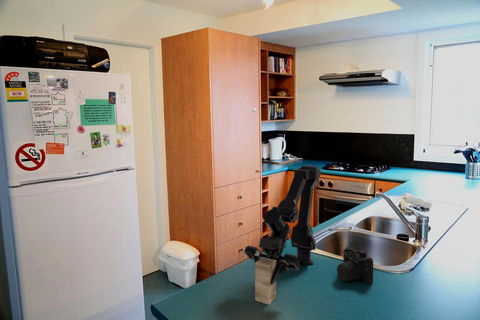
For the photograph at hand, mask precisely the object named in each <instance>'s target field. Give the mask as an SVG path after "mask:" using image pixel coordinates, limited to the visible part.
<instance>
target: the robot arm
mask: <svg viewBox="0 0 480 320" xmlns="http://www.w3.org/2000/svg"><path fill="white" fill-rule="evenodd" d="M321 173H322V171H321V169H320V168H319V167H318V166H316V165H307V164H306V165H305V164H302V165H301V167H297V168H296V169H295V170H294V173H293V178H292V180H291V183H290V186H289V188H288V190H287V194H286V196H285V198H284V199H283V200H280V201H279V203H278V205H277V206H272V208H271V209H269V210H267V211H266V212H265V213H264V214H263V221H264V223H265V224H266V226H267V227H268V229H269V230H270V231H271V233H270V235H268V236H267V238H264V237H260V239H259V244H258V247H257V246H252V245H247V246H245V247H244V251H243V253H244V254H245V255H246V256H247V257H248V259H250V260H253V261H254V264H255V263H256V262H257V261H258V260H260V259H261V258H262V257H264V258H268V259H272V260H276V268H275V270H274V273H273V275H272V278H271V282H270V283H271V284H273V283H274V282H275V281H276V282H277V280H278V279H279V278H280V277H281V276H282V275H283V274H284V273H285V272H286V271H290V270H294V271H295V270H296V271H299V270H300V269H301V266H303V265H314V262H313V260H312V259H311V258H312V256H311V255H312V252H313V251H314V250H316V247H317V241H316V239H315V237H314V231H313V228H312V226H311V225H310V224H311V223H310V222H311V214H312V204H313V197H314V189H315V188H316V187H317V184H318V183H319V179H320V178H321V176H322V175H321ZM298 205H299V206H298ZM298 207H299V208H298ZM296 221H297V223H296ZM288 223H290V224H294V223H296V224H295V225H294V226H292V229H291V227H290V224H288ZM289 234H290V242H291V248H296V255H294V254H291V253H285V254H284V255H283V252H284V249H286V248H287V245H286V243H287V240H288V236H289ZM259 248H262V249H261V250H262V251H260V249H259Z"/></svg>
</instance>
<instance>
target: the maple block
mask: <svg viewBox="0 0 480 320" xmlns="http://www.w3.org/2000/svg"><path fill="white" fill-rule="evenodd" d="M275 268H276V260H272V259H268V258H264V257H262V258H261V259H260V260H258V261H257V262H256V263H255V262H254V287H255V288H254V290H255V291H254V296H255V297H254V301H257V302H260V303H263V304H266V305H271V304H272V303H273V301H274V300H275V299H276V298H277V280H276V281H275V282H274V283H273V284H271V283H270V282H271V278H272V275H273V273H274V270H275Z"/></svg>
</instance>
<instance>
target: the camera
mask: <svg viewBox="0 0 480 320" xmlns="http://www.w3.org/2000/svg"><path fill="white" fill-rule="evenodd" d="M342 251H343V253H342V254H343V255H342V259H343V260H342V261H343V262H342V263H339V264H338V265H337V267H336V273H337V276H338V277H339V279H340V280H341V281H343V282H349V281H353V280H355V281H358V282H363V283H365V284H366V285H372V284H374V259H373V258H372V257H371V256H367V252H366V251H365V250H364V249H363V250H362V249H361V250H357V249H355V247H350V246H346V247H345V248H344V249H343V250H342Z"/></svg>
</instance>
